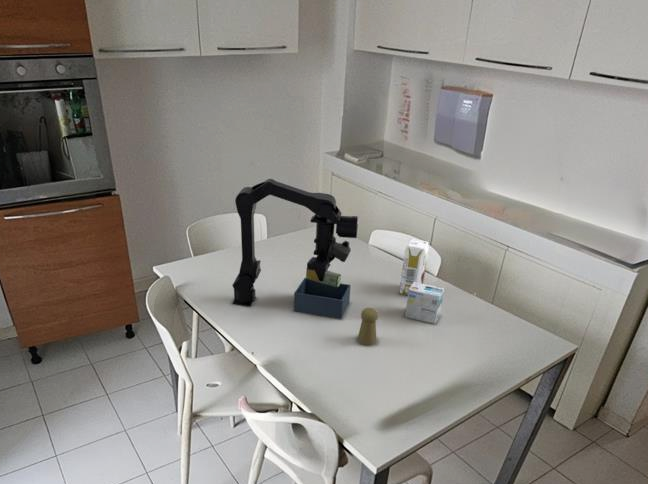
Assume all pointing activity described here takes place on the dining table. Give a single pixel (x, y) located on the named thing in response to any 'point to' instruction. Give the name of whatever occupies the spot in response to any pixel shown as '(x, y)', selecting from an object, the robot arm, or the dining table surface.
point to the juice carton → (413, 264)
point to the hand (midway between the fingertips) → (322, 279)
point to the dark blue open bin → (321, 299)
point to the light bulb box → (424, 302)
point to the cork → (368, 327)
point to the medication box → (325, 277)
